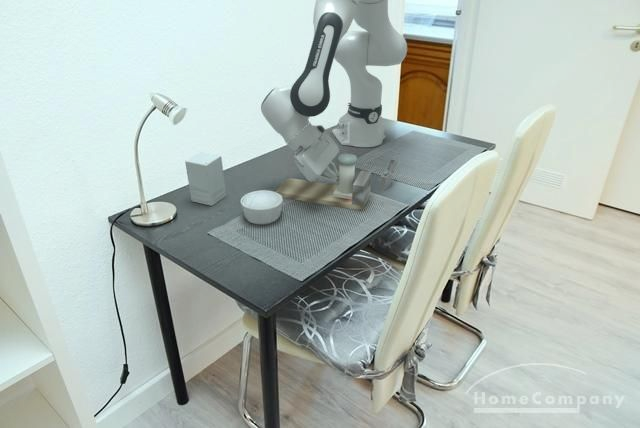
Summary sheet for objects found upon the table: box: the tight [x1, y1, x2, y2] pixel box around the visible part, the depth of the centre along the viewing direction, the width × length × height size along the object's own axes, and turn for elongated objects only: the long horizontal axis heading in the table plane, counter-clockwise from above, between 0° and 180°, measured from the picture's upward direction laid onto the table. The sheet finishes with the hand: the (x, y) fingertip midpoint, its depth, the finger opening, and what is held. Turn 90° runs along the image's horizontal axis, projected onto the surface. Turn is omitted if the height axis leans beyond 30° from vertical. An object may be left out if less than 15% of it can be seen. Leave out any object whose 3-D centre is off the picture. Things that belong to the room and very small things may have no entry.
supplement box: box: [184, 151, 227, 207], centre depth 128 cm, size 7×7×13 cm
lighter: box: [379, 158, 398, 191], centre depth 137 cm, size 7×2×8 cm, turn 146°
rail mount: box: [275, 170, 372, 211], centre depth 131 cm, size 26×10×8 cm, turn 72°
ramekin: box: [239, 189, 284, 225], centre depth 121 cm, size 11×11×5 cm
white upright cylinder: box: [333, 153, 358, 200], centre depth 127 cm, size 6×6×11 cm
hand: (337, 178), depth 129 cm, fingers closed, pressing on white upright cylinder
